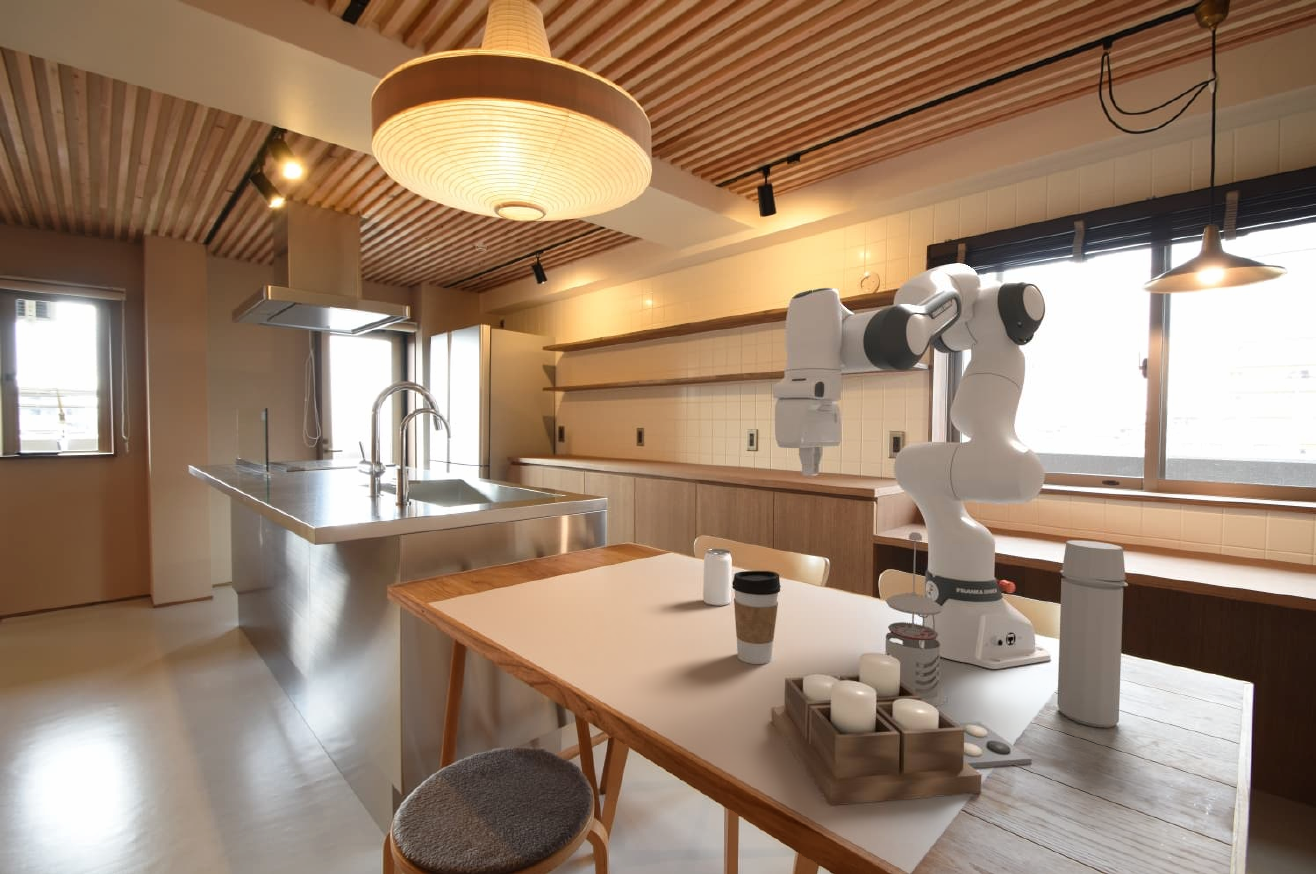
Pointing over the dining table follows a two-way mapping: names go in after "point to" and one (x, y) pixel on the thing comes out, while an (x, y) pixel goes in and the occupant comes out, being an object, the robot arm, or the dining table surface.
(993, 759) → the pattern card
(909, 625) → the french press
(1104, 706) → the water bottle
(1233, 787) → the dining table surface
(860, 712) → the button
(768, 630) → the coffee cup
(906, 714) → the button
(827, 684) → the button
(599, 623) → the dining table surface
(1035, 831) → the dining table surface
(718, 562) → the can
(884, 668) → the button
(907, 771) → the button board
